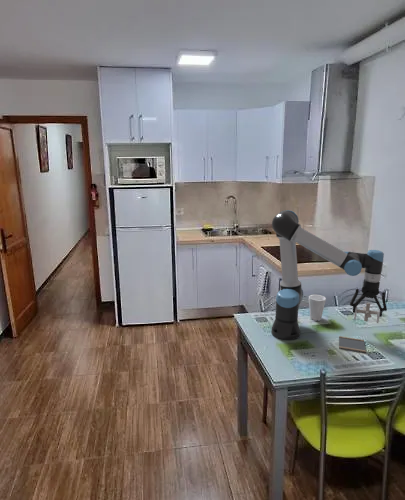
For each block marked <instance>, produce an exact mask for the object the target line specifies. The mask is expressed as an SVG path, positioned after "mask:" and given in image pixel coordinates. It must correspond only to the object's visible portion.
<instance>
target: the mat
mask: <svg viewBox="0 0 405 500" xmlns="http://www.w3.org/2000/svg"><path fill="white" fill-rule="evenodd" d="M338 349H339V350H345V351H352V352H356V353H362V354H366V346H365V340H364V339H361V338H355V337H347V336H341V335H340V336H338Z"/></svg>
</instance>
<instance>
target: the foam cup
mask: <svg viewBox="0 0 405 500" xmlns="http://www.w3.org/2000/svg"><path fill="white" fill-rule="evenodd" d="M326 301H327V298H326V296H324V295H320V294H311V295H308V307H309V318H310V320H312V319H313V320H312V321H317V320H318V321H321V320H322V318H323V312H324V310H325V309H324V308H325V304H326Z"/></svg>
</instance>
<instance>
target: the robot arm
mask: <svg viewBox="0 0 405 500" xmlns="http://www.w3.org/2000/svg"><path fill="white" fill-rule="evenodd" d="M299 222H300V221H299V216H298V215H297V214H296V212H294V211H293V210H288V209H287V210H286V209H285V210H282V211H280V212H279V213H277V214H276V215H275V216H274V217H273V218H272V222H271V227H272V230H273V231H274V233H275V237H276V238H277V239H278V241H279V249H280V250H279V251H280V252H279V253H280V265H281V266H280V267H281V278H282V280H281V281H280V283H279V288H280V289H279V291H278V292H277V293H276V296H275V319H274V321H273V324H272V326H271V330H270V331H271V334H272V336H273V337H275V338H277V339H279V340H284V341H285V340H286V341H293V340H297V339H299V338H300V337H301V329H300V325H299V321H298V320H299V308H300V305H301V303H302V301H303V298H304V290H303V288H302V281H300V279H299V272H298V271H299V269H298V257H297V256H298V255H297V244H298V245H299V246H301V247H304V248H305V249H307V250H309V251H311V252H312V253H314V254H316V255H318V256H319V257H321V258H322V259H325V260H326V261H328V262H330V263H332V264H333V265H334V266H337V267H338V268H340V269H342V270H344V272H345V273H346V275H348V276H351V277H355V276H359V274H360V273H361V272H362V269H365V270H364V276H363V282H362V288H358V287H355V292H354V294H353V295H352V298H351V300H350V301H349V306H350V307H352V313H353V314H354V315H353V320H357V314H358V313H357V309H358V305H360V303H361V302H362V301H363V300H364V299H365V298H366V299H367V298H368V299H373V300H374V301H375V303H376V306H377V307H378V309H377V311H378V315H376V318H375V319H376V324H379V322H380V318H382V317H383V312H387V311H388V308H387V303H386V297H385V296H386V292H385V290H384V291H380V283H381V282H380V281H381V278H382V277H381V276H382V271H383V265H384V256H385V253H384V252H383V251H381V250H378V249H369V250H368V251H367V252H366V253H361V252H354V251H353V252H352V251H343V250H342V249H339V248H338V247H336V246H334V245H333V244H331V243H329V242H328V241H326V240H324V239H322V238H320V237H318V236H317V235H315V234H313V233H311V232H309V231H308V230H306V229H304V228H303V227H302V225H301V224H300V223H299ZM360 292H361V293H362V294H361V295H360V297H359V298H358V299H357V297H358V295H359V293H360ZM378 295H379V296H380V297H381V301H382V305H383V307H382V305H381V303H380V301H379V299H378V297H377V296H378ZM356 299H357V300H356Z"/></svg>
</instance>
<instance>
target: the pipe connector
mask: <svg viewBox="0 0 405 500" xmlns="http://www.w3.org/2000/svg"><path fill="white" fill-rule="evenodd" d="M370 308H371V302H366V305H365V306H363V307H362V309H360V308H359V309H358V308H357V314H364V317H363V321H364V322H365V323H367V322H368V321H369V318H371V317H372V315H376V316H377V315H378V310H370Z"/></svg>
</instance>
